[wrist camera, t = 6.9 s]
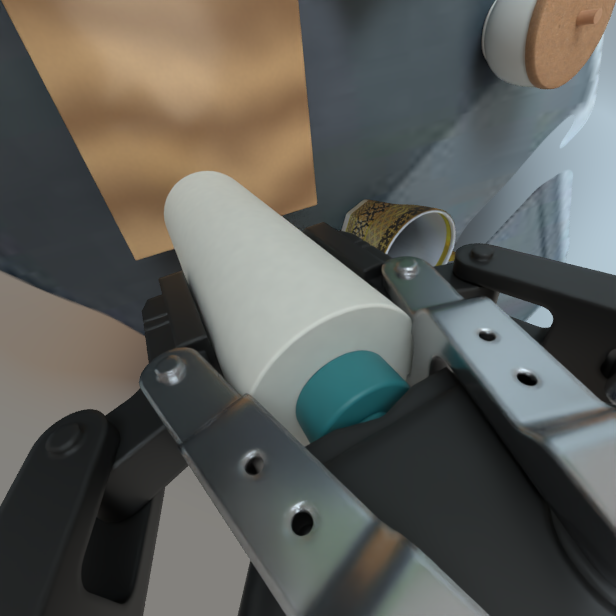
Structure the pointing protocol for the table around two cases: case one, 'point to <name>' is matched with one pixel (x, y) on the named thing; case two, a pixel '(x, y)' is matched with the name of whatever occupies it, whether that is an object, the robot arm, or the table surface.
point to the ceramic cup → (404, 230)
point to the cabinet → (176, 99)
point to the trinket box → (542, 39)
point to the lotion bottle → (286, 311)
